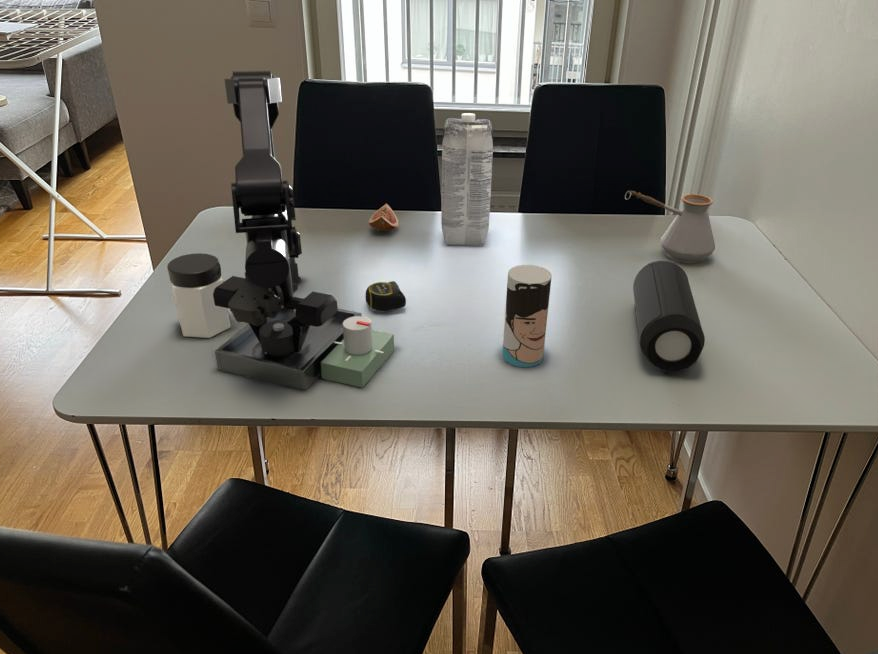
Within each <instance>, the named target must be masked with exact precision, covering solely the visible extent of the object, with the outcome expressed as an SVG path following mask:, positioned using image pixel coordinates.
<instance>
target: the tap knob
mask: <svg viewBox="0 0 878 654" xmlns="http://www.w3.org/2000/svg"><path fill="white" fill-rule="evenodd" d="M372 330H373V329H372V321H371V319H370V318H368V317H366V316H363V315H362V316H354V317H350V318H347V319H346V320H344V322H343V335H344V348H345V351H346V352H348V353H350V354H354V355H361V354H365V353H368V352H369V351H371V350H372Z"/></svg>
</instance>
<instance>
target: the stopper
mask: <svg viewBox="0 0 878 654" xmlns="http://www.w3.org/2000/svg"><path fill="white" fill-rule="evenodd" d="M288 321H289V320H274V321H270V322H267V323H265V324H264V325H262V326H261V327H260V329H259V335H260V342H261V348H262V350H263V351H264V352H266V353H268V354H270V356H271V357H276V358H277V357H287V356H290V355H292V354H293V353H294V351H295V347H294V340H293V330H292V327H291V326H290V325H289V324H287V322H288Z"/></svg>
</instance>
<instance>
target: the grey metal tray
mask: <svg viewBox="0 0 878 654" xmlns="http://www.w3.org/2000/svg"><path fill="white" fill-rule="evenodd" d="M282 309H283V308H281V309H280V311H281V310H282ZM280 311H279V312H280ZM354 316H362V317H363V315H362V312H357V311H354V310H348V309H343V308H338V311H337V312H336V313H335V314H334V315H333V316H332V317H333V318H338V319H343V320H346V319H347V318H350V317H354ZM270 319H271V318H267V322H268V321H269V320H270ZM253 333H254V332H253V330H252V328H251V327H250V325H249V324H248V323H247V325H245V326H243V328H242V329H240V330H239V331H238V332H237V333H235V334H234V335H233V336H232V337H230V338H229V339H228V340H226V341H225V342H224V343H223V344H221V345H220V346H219V347H218V348H216V349H215V350H214V356H215V357H214V358H215V362H216V368H217V371H222V372H225V373H230V374H234V375H238V376H242V377H245V378H250V379H255V380H260V381H265V382H268V383H273V384H276V385H281V386H285V387H289V388H294V389H298V390H301V391H307V390H308V389H309V387H311V385H313V383H314V382H315V381H316V380H317V379H318V378H319V377H321V376H322V372H321V362H322V361H323V360H324V358H325V357H326V356H327V355H328V354H329V353H330V352H331V351H332V350H333V349H334V348H335V347H336V346H337V345H338V344H335V343H334V342H341V341H342V340H343V339H344V335H343V327H342V328H341V329H340V330H339V331H338V332H337V333H336V334H335V335H334V336H333V337H332V338H331V339H330V340H329V341H328V342H327V343H326V344H325V345H324V346H323V347H322V348H321V349H320V350H319V351H318V352H317V353H316V354H315V355H314V356H313V357H312V358H311V359H310V360H309V361H308V362H307V363H306V364H305V365H304V366H303V367H302V368H300V367H295V366H291V365H286V364H282V363H277V362H273V361H269V360H264V359H260V358H255V357H251V356H247V355H242V354H238V353H233V352H231V351H232V350H234V349H235V348H236V347H237V346H238V345H240V344H241V343H242V342H243V341H245V340H246V339H247V338H248V337H249V336H251V335H252V334H253Z"/></svg>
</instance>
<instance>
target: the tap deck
mask: <svg viewBox="0 0 878 654" xmlns="http://www.w3.org/2000/svg"><path fill="white" fill-rule="evenodd" d="M334 343H335V344H338V345H337V346H336V347H335V348H334V349H333V350H332V351H331V352H330V353H329V354H328V355H327V356H326V357H325V358H324V360H323V361H322V362H321V372H322V374H321V378H322V379H323V380H327V381H331V382H336V383H339V384H344V385H349V386H353V387H357V388H361V389H362V388H364V387H365V386H366V384H368V382H369V381H370V380H371V379H372V378H373V376H374V375H375V374H376V373H377V372H378V370H379V369H380V368H381V367H382V365H384V363H385V362H386V360H387V359H388V358H390V356H391V355H392V353H393V352H394V351H395V334H394V333H389V332H385V331H379V330H376V329H375V330H374V329H372V350H371V351H369V352H368V353H365V354H361V355H354V354H350V353H348V352H346V351H345V348H344V339H343V340H342V341H341V342H334Z"/></svg>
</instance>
